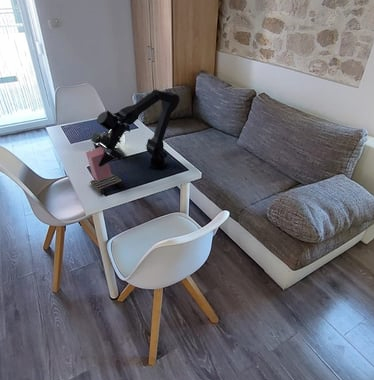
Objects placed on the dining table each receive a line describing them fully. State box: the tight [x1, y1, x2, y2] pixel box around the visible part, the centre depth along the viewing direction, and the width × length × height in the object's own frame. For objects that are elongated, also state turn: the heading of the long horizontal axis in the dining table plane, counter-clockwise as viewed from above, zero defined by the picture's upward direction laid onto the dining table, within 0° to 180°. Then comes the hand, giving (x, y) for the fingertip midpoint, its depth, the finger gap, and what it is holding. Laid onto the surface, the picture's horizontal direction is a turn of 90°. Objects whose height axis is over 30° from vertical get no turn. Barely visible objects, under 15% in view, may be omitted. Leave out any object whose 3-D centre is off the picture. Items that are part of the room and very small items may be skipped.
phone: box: [103, 147, 125, 158], centre depth 176 cm, size 8×1×15 cm
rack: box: [89, 172, 123, 196], centre depth 147 cm, size 12×10×3 cm
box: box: [85, 147, 112, 181], centre depth 140 cm, size 7×6×13 cm
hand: (96, 163), depth 139 cm, fingers closed on box, 6 cm apart
